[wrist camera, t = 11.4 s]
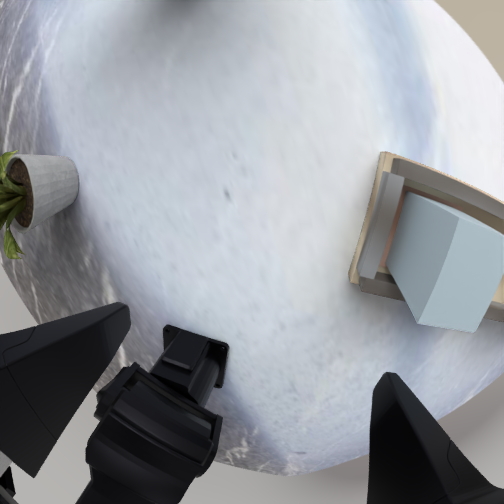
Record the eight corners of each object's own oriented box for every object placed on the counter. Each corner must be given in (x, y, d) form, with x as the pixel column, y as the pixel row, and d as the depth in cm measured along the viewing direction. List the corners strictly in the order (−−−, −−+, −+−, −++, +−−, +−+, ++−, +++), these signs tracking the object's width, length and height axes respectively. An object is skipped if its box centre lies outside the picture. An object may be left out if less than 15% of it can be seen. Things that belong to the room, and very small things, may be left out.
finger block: (435, 275, 16) (478, 333, 10) (385, 263, 17) (417, 323, 10) (457, 209, 14) (518, 243, 8) (406, 190, 15) (459, 217, 8)
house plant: (149, 162, 19) (-59, 219, 4) (94, 277, 25) (-21, 367, 10) (62, 92, 18) (-76, 101, 3) (27, 198, 24) (-78, 244, 9)
